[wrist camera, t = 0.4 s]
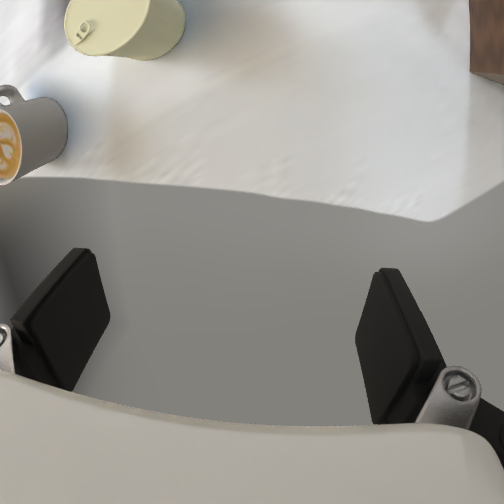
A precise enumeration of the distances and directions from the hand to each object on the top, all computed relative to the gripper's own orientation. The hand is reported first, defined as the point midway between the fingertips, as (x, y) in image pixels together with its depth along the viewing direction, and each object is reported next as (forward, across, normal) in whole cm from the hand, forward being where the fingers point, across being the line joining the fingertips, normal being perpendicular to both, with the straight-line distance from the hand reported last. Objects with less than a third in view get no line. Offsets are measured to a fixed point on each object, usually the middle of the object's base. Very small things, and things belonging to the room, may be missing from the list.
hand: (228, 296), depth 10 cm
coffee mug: (+30, +32, -4) cm, 44 cm away
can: (+30, +14, -14) cm, 36 cm away
